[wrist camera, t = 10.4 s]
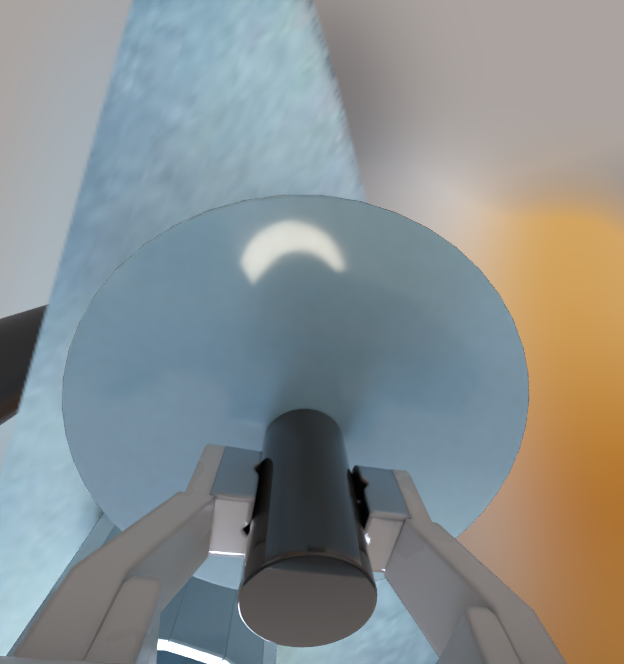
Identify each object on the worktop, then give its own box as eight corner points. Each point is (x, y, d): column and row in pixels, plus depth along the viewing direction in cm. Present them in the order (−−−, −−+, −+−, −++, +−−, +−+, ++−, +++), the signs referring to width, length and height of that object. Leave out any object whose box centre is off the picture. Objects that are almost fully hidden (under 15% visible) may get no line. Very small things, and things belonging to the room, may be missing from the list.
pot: (95, 603, 24) (-3, 787, 16) (93, 468, 20) (-41, 625, 12) (265, 617, 26) (250, 791, 18) (295, 493, 22) (293, 648, 14)
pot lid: (90, 545, 12) (-67, 787, 7) (81, 141, 8) (-366, -37, 3) (429, 579, 14) (511, 798, 9) (580, 257, 10) (946, 294, 4)
